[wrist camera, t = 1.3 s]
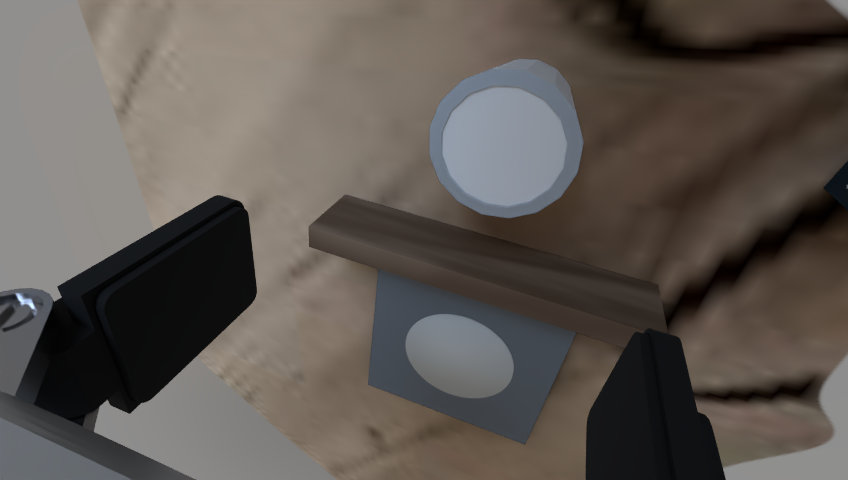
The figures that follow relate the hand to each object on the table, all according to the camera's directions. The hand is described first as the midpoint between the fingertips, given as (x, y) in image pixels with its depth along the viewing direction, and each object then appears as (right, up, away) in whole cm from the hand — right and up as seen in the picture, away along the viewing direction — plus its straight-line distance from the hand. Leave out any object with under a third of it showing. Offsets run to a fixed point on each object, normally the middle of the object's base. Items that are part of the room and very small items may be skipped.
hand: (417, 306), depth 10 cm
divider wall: (+5, +1, +20) cm, 20 cm away
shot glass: (+6, +9, +15) cm, 18 cm away
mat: (+3, -8, +26) cm, 27 cm away
